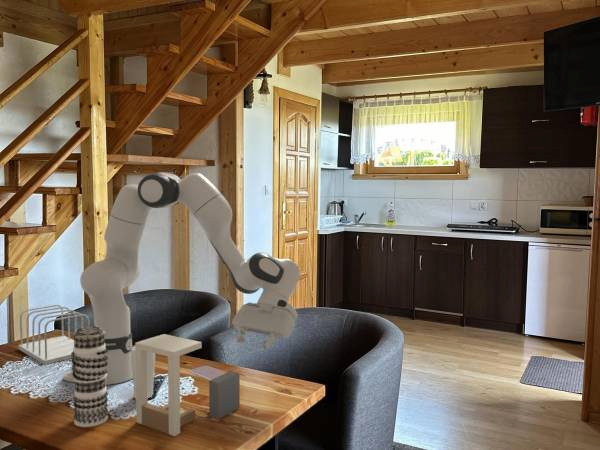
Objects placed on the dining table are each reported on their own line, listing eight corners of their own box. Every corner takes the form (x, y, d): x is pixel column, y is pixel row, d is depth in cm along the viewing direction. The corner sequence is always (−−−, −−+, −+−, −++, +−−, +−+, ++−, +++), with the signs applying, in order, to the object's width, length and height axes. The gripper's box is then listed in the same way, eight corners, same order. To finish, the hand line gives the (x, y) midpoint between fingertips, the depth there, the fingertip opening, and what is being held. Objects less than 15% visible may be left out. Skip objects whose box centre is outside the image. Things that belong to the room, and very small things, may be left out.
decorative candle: (102, 409, 148) (101, 321, 146) (114, 421, 141) (112, 328, 139) (68, 418, 143) (66, 326, 141) (78, 430, 135) (76, 334, 134)
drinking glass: (142, 403, 152) (142, 352, 151) (126, 398, 156) (126, 348, 155) (160, 396, 158) (159, 346, 157) (144, 391, 162) (144, 342, 161)
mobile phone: (206, 364, 185) (234, 374, 175) (206, 367, 185) (234, 377, 175) (188, 369, 179) (216, 380, 169) (188, 372, 179) (216, 383, 169)
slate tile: (230, 405, 152) (230, 371, 151) (239, 407, 151) (239, 373, 150) (209, 416, 145) (209, 380, 144) (218, 419, 143) (218, 383, 142)
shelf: (168, 407, 150) (168, 332, 149) (206, 419, 143) (205, 340, 141) (136, 422, 140) (135, 342, 139) (174, 436, 133) (173, 352, 131)
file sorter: (18, 350, 202) (16, 309, 200) (64, 340, 214) (63, 302, 213) (44, 365, 184) (43, 321, 183) (93, 354, 197) (92, 312, 196)
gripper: (240, 296, 168) (220, 333, 160) (294, 304, 157) (275, 344, 149) (249, 307, 172) (229, 344, 164) (302, 316, 161) (284, 356, 153)
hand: (251, 344), depth 157 cm, fingers open, 8 cm apart
